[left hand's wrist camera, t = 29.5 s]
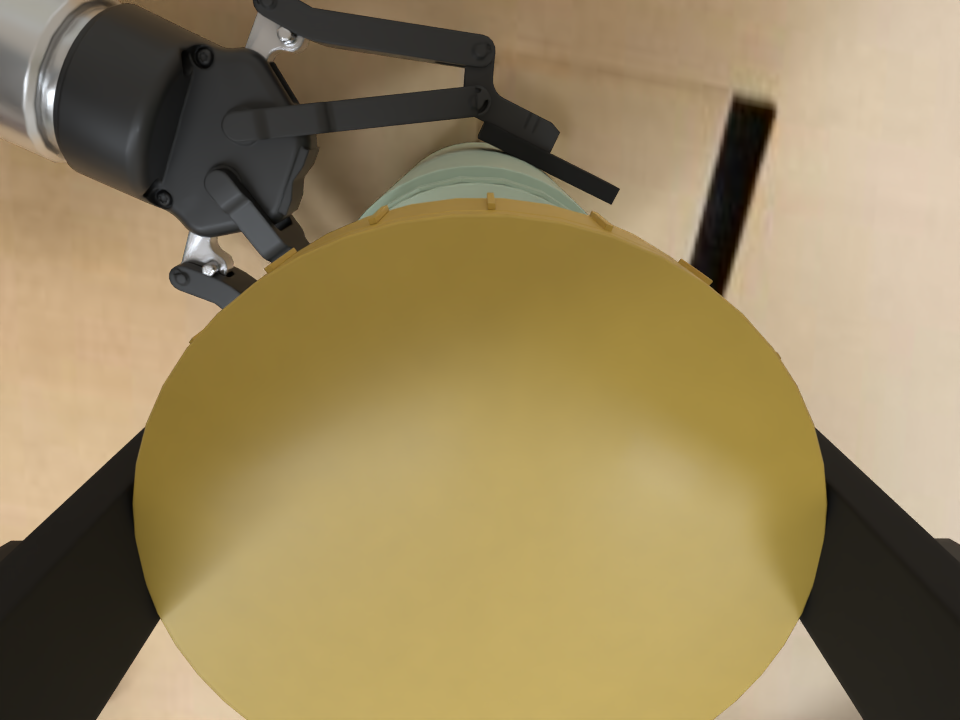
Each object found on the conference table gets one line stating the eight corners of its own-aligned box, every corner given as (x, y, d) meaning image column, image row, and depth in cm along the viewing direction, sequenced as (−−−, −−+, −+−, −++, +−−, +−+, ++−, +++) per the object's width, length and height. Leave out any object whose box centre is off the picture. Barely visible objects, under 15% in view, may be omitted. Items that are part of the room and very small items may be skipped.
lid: (284, 746, 15) (257, 832, 13) (77, 267, 11) (-2, 297, 9) (785, 673, 14) (829, 754, 12) (766, 127, 10) (829, 128, 8)
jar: (548, 121, 34) (610, 132, 18) (580, 302, 37) (654, 443, 22) (363, 166, 35) (268, 214, 19) (412, 339, 38) (367, 500, 23)
